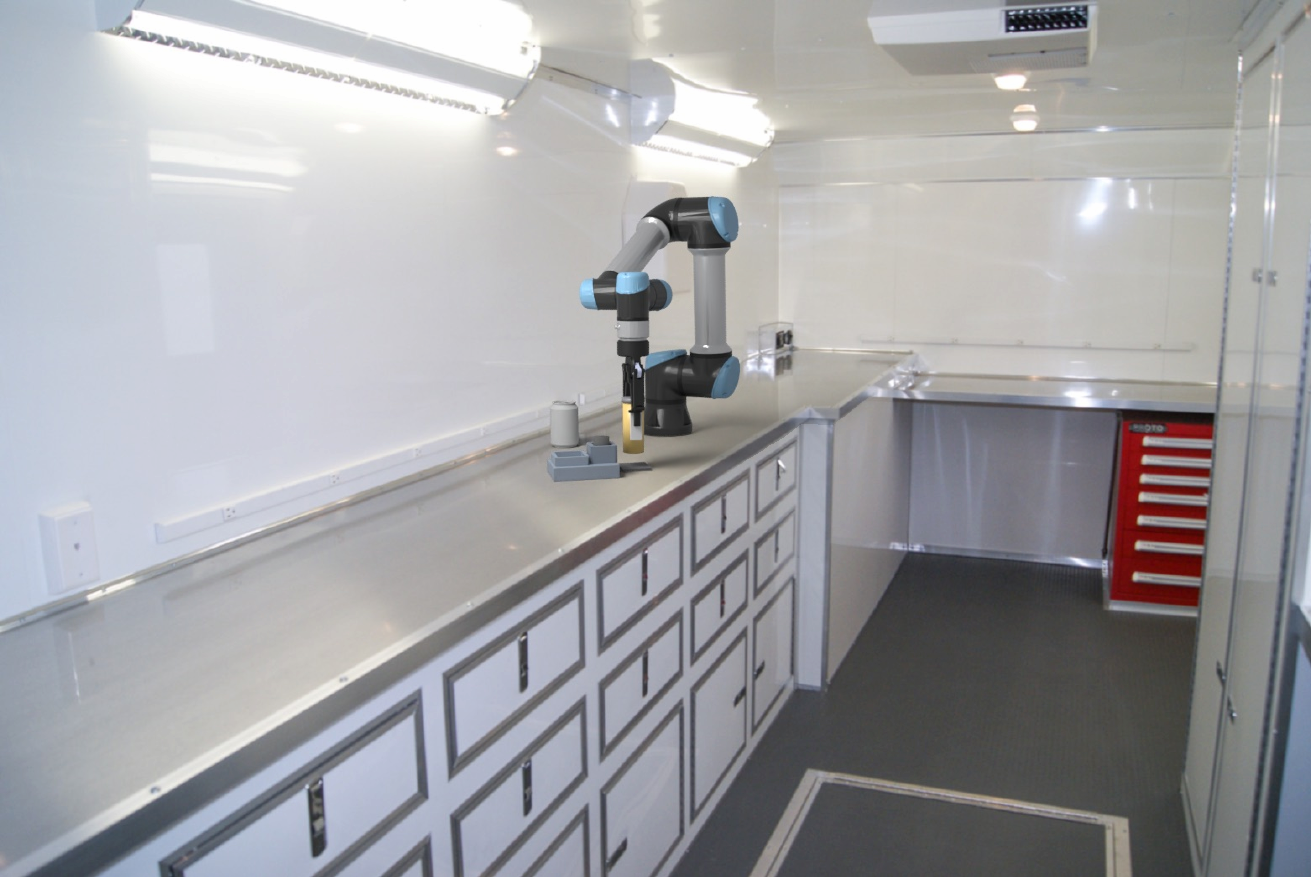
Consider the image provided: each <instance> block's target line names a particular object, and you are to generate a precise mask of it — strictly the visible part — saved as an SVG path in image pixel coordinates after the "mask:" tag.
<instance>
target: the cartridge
mask: <svg viewBox="0 0 1311 877" xmlns="http://www.w3.org/2000/svg"><path fill="white" fill-rule="evenodd" d="M621 403H622V453H624V454H628V455H640V454H643V453H645V434H644V411H642V440H630V413H629V412H628V410H631V396H625V397H623V396H622V397H621ZM644 403H645V396H644Z"/></svg>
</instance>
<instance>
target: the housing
mask: <svg viewBox="0 0 1311 877" xmlns="http://www.w3.org/2000/svg"><path fill="white" fill-rule="evenodd" d="M585 447H586V451H585V450H581V449H578V450H577V449H576V450H558V451H557V450H555V451H550V458H547V459H546V469H547V470H546V471H547V473H548V475H549V477H551V479H552V480H553V482H554V483H557V482H572V481H588V480H591V481H592V480H605V479H606V480H607V479H620V478H621V477H620V476H621V475H620V471H621V470H620V467H619V464H618V445H617V444H616V443H615V442H614V441H612V440H611V441H610V440H609V445H605V446H594V441H588V442H587V441H586V446H585Z"/></svg>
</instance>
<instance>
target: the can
mask: <svg viewBox="0 0 1311 877" xmlns="http://www.w3.org/2000/svg"><path fill="white" fill-rule="evenodd" d="M579 424H580V422H579V406H578V405H577V404H576V401H575V400H569V399H560V400H554V401H552V404H551V405H550V407H549V426H550V430H549V431H550V444H551V445H552V446H553V447H554V448H558V449H570V448H575V447H577V445H579V444H580V440H579V439H580V438H579V437H580V436H579V434H580V432H579V431H580V430H579V429H580V428H579Z"/></svg>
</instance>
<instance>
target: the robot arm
mask: <svg viewBox="0 0 1311 877" xmlns="http://www.w3.org/2000/svg"><path fill="white" fill-rule="evenodd" d="M739 230H740V228H739V218H738V212H737V210H736V206H734V202H732V201H731V199H729V198H728V197H724V196H713V195H711V196H690V197H681V196H680V197H673V198H669V199H667V200H665V201H663V202H661V203H659V204H658V205H655V206H654V207H653V208H652V209H650V210H649V211H648V212H646V213H645V214H644V216H643V217H642V218H640V219H639V221H638V222H637V224H636V226H635V232H634V233H633V234H632V236H631V237H630V238H629V239H628V241H627V242H626V243H625V244H624V246H623V247H622V248H621V249H620V250H619V251H618V253H617V254H616V255H615V257H614V258H613V259H612V260H611V262H610V263H609V264H608V265H607V267H606V268H605V269H604V270H603V271H602V273H601V274H600V275H599V276H598V277H597V278H595V277H591V278H586V279H584V280H583V281H581V283H580V287H579V293H578V294H579V300H580V303H581V305H582V306H583V307H584V308H585V309H587V310H593V311H594V310H597V311H616V323H617V324H615V325H614V329H615V330H616V337H617V338H618V340H617V341H616V354H617V356H618V357H622V358H625V360H624V361H625V362H622V363H621V367H622V368H621V371H622V397H625V396H631V410H628V412H629V413H630V440H642V411H644V436H645V435H646V436H652V437H653V436H655V437H676V436H678V437H680V436H685V435H690V434H692V433H693V431H694V430H693V429H694V428H693V427H694V426H693V422H692V419H691V416H690V412H689V410H688V405H687V397H688V398H705V399H712V400H716V399H728V398H730V397H731V396H732V395H733V394H734V393H735V390H736V388H737V386H738V384H739V379H740V374H741V364H740V359H739V358H738V357H737V356H734V355H733V349H732V347H731V346H730V345H729V344H728V343H727V299H726V298H727V293H726V292H727V289H726V288H727V286H726V255H727V253H728V252H729V251H730V249H732V248H731V247H732V246H731V243H732V242H734V241H736V240H737V238H738V235H739V234H738V233H739ZM675 242H685V243H686V244H687V247H686V248H687V250H688V251H689V253H691V255H692V258H693V259H692V262H693V264H692V265H693V270H692V271H693V300H694V301H693V305H694V306H693V310H694V311H693V312H694V313H693V315H694V345H693V346H692V347H691V348H690V349H689V354H688V352H687V350H686V349H684V348H682V349H681V348H680V349H679V348H678V349H670V350H662V351H656V352H650V341H649V339H648V338H650V312H659V311H662V310H664V309H666V308H668V307H669V306H670V304H671V303H672V300H673V297H674V296H673V294H674V293H673V288H672V287H671V285H670V284H669V282H667V281H666V280H663V279H659V278H651V279H650V277H649V274H648V273H647V272H646V271H643V270H644V269H645V267H646V266H647V265H648V264H649V262H650V261H651V260H652V259H653V257H654V256H655V255H656V254H657V252H659V251H658V250H663V249H664V248H665V247H666V246H668V244H671V243H675ZM642 357H644V358H645V363H644V365H643V364H642V360H641V358H642ZM644 397H645V402H644Z"/></svg>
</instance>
